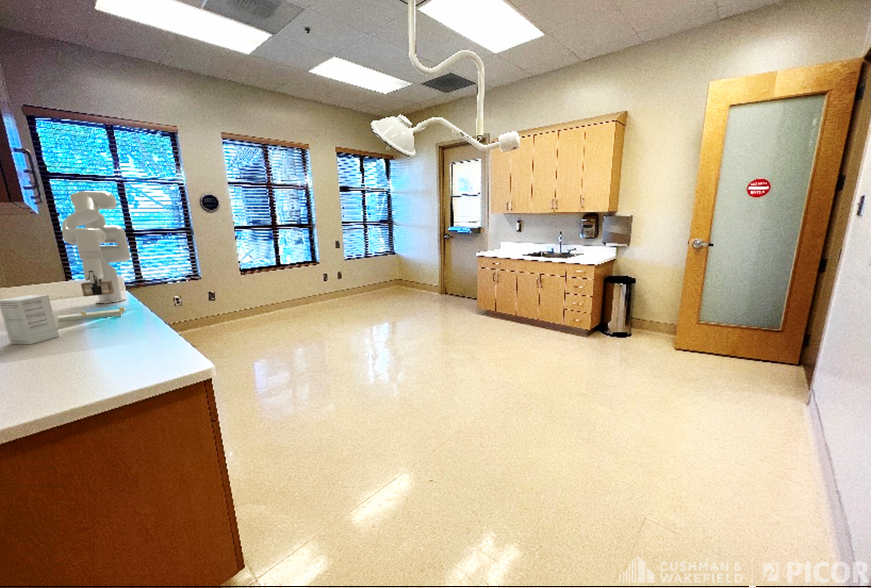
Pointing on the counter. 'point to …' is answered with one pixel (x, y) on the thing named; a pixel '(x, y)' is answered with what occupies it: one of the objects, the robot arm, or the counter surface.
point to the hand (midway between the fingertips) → (99, 293)
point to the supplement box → (28, 319)
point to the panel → (92, 314)
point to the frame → (105, 287)
